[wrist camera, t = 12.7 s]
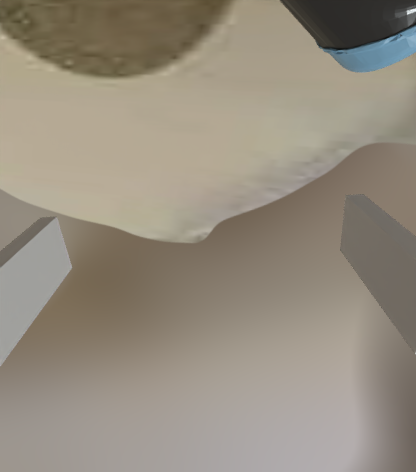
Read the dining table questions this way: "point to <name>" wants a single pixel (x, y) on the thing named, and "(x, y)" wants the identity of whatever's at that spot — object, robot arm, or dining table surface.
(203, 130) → the dining table surface
